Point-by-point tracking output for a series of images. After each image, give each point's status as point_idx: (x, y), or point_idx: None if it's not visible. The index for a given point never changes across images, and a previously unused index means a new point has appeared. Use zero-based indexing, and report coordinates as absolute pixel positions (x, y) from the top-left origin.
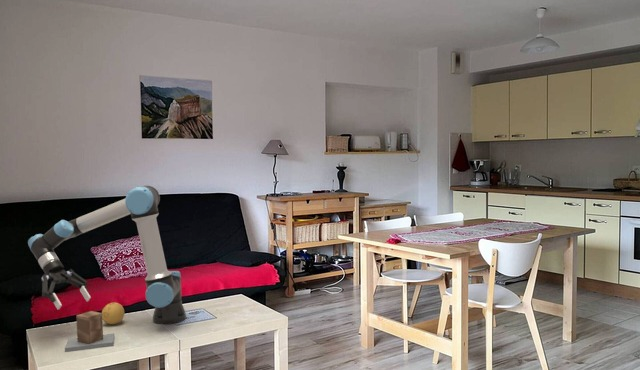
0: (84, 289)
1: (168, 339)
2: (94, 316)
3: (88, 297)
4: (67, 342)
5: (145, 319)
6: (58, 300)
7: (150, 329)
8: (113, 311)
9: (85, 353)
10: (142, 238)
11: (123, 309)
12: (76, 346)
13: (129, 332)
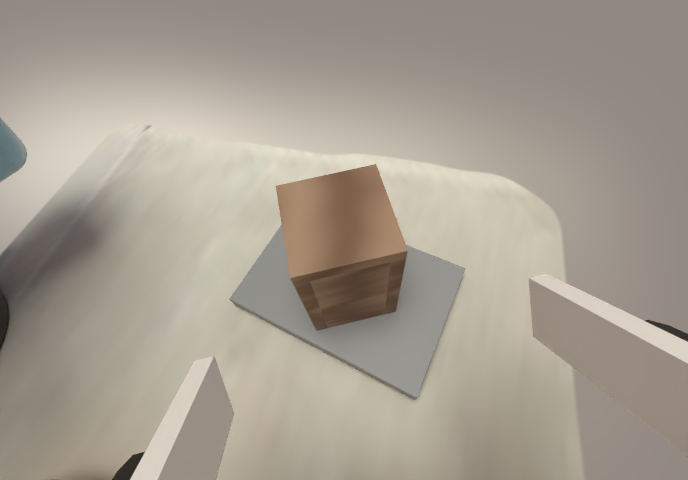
0: (165, 454)
1: (159, 148)
2: (328, 179)
3: (214, 372)
4: (436, 338)
5: None
6: (582, 301)
7: (91, 281)
8: None
9: (404, 207)
10: None
11: None
12: (420, 253)
13: (160, 312)
